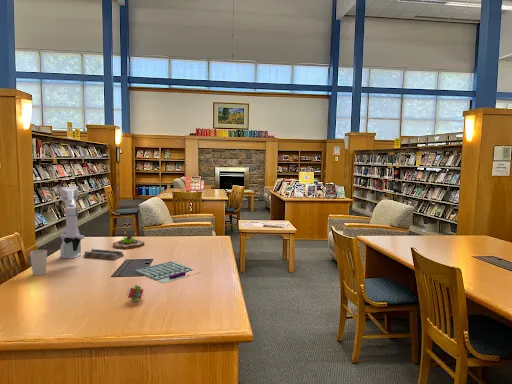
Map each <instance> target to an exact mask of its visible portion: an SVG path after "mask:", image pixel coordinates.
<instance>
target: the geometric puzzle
mask: <svg viewBox="0 0 512 384" xmlns="http://www.w3.org/2000/svg"><path fill="white" fill-rule="evenodd" d="M144 290H145V289H144V288H143V287H142V286H139V285H137V284H134V287H130V288H128V289H127V291H126V296H127V298H128V299H129V300H130V301H132V300H133V301H132V302H134V301H135V303H137V302H139V301H140V300H141V299H142V297H144Z"/></svg>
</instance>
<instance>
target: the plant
mask: <svg viewBox="0 0 512 384" xmlns="http://www.w3.org/2000/svg"><path fill="white" fill-rule="evenodd" d="M123 234H124V236H123V237H122V238H121V239H120V240H118V241H115V242H112V245H113V246H112V247H113V248H114V249H117V250H118V249H119V250H129V249H137V248H140V247H141V248H142V247H143V246H145V242H144V241H142V240H139V239H136V238H135V237H134V236H137V233H136V232H131V233H130V234H129V232H128V231H127V230H126V231H124V232H123ZM133 234H134V236H132V235H133ZM125 236H126V237H125Z"/></svg>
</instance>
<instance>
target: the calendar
mask: <svg viewBox="0 0 512 384" xmlns="http://www.w3.org/2000/svg"><path fill="white" fill-rule="evenodd" d="M186 266H187V265H186V264H184V265H182V263H179V262H174V261H167V262H163V263H158V264H154V265H150V266H146V267H142V268H137V269H134V272H135V273H137V274H138V273H139V274H140V275H142V276H144V277H148V278H149V279H152V280H155V281H157V282H160V283H162V284H166V283H169V282H173V281H176V279H177V280H180V279H183V277H184V278H186V277H185V275H186V273H187V272H189V271H192V270H193V269H191V268H192V267H191V266H187V267H186ZM190 267H191V268H190ZM179 278H180V279H179Z"/></svg>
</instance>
